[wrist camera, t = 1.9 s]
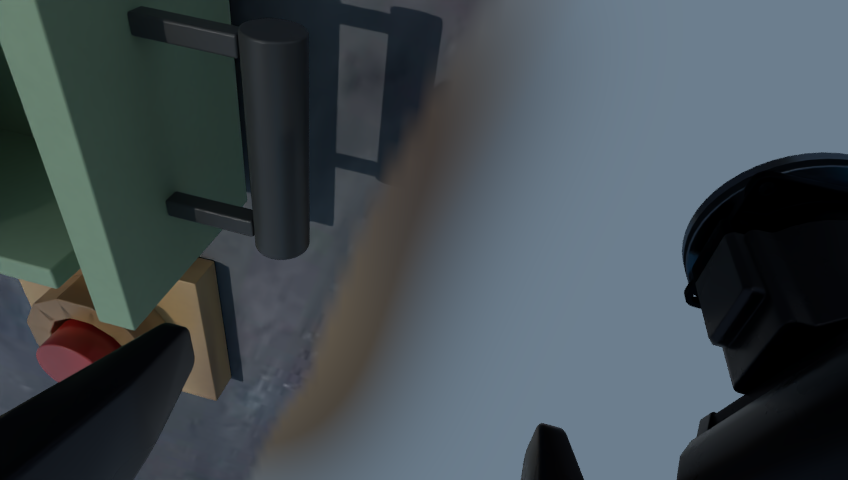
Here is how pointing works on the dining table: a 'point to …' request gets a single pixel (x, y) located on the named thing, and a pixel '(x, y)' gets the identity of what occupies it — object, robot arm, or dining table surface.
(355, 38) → the dining table surface
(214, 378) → the control block
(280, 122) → the drawer
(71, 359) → the red button
